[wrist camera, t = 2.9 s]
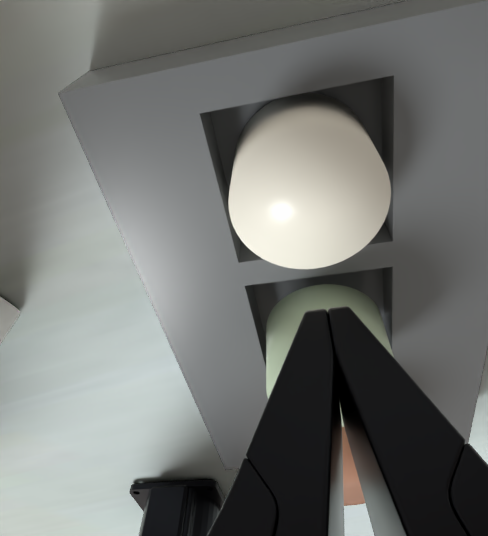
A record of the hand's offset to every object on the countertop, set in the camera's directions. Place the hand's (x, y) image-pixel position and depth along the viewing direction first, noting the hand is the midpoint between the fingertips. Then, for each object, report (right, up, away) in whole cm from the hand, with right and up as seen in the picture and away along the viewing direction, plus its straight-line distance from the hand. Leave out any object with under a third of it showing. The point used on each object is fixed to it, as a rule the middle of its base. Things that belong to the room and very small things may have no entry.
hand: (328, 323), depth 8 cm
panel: (+2, 0, +11) cm, 11 cm away
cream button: (0, +5, +6) cm, 8 cm away
